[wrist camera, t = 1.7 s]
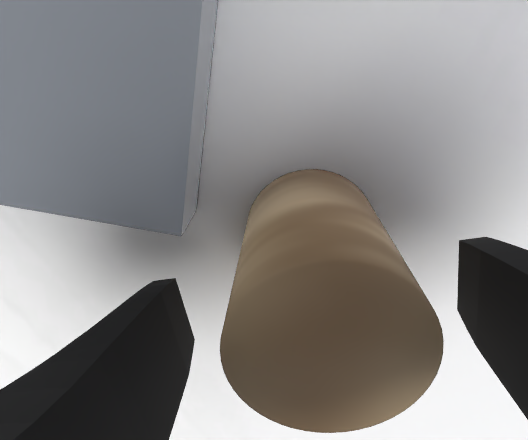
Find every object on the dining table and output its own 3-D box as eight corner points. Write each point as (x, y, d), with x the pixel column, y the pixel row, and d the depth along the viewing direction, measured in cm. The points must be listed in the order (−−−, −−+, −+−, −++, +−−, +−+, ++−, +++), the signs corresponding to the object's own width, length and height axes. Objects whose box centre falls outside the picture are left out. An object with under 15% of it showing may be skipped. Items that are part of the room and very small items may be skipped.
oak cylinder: (390, 182, 12) (480, 283, 7) (354, 292, 14) (401, 446, 8) (257, 158, 12) (235, 241, 6) (238, 273, 14) (208, 415, 8)
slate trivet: (236, -172, 9) (223, -233, 7) (196, 211, 13) (181, 236, 11) (-189, -257, 9) (-318, -343, 7) (-95, 159, 13) (-160, 176, 11)
